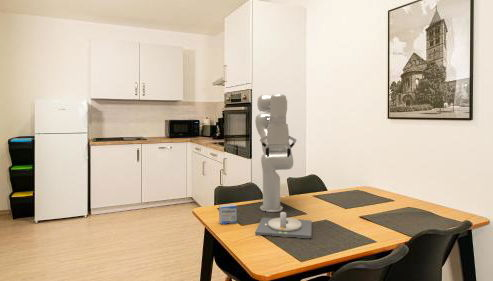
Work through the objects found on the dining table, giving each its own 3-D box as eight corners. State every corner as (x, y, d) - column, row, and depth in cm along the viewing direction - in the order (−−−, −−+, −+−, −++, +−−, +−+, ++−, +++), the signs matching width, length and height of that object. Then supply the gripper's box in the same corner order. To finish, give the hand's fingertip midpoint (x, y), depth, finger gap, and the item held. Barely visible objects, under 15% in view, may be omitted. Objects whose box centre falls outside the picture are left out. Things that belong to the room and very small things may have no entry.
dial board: (262, 220, 160) (262, 217, 160) (311, 223, 155) (311, 220, 155) (255, 235, 141) (255, 231, 141) (311, 239, 136) (311, 235, 136)
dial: (271, 219, 157) (271, 203, 156) (302, 221, 153) (302, 205, 153) (264, 231, 140) (264, 214, 140) (299, 234, 137) (299, 216, 136)
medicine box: (220, 224, 154) (220, 207, 154) (219, 221, 159) (218, 204, 158) (236, 223, 157) (236, 205, 156) (234, 220, 161) (234, 203, 160)
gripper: (258, 121, 151) (258, 157, 152) (296, 121, 147) (295, 158, 149) (261, 120, 158) (261, 155, 159) (297, 120, 155) (296, 156, 156)
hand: (278, 156), depth 154 cm, fingers open, 9 cm apart
